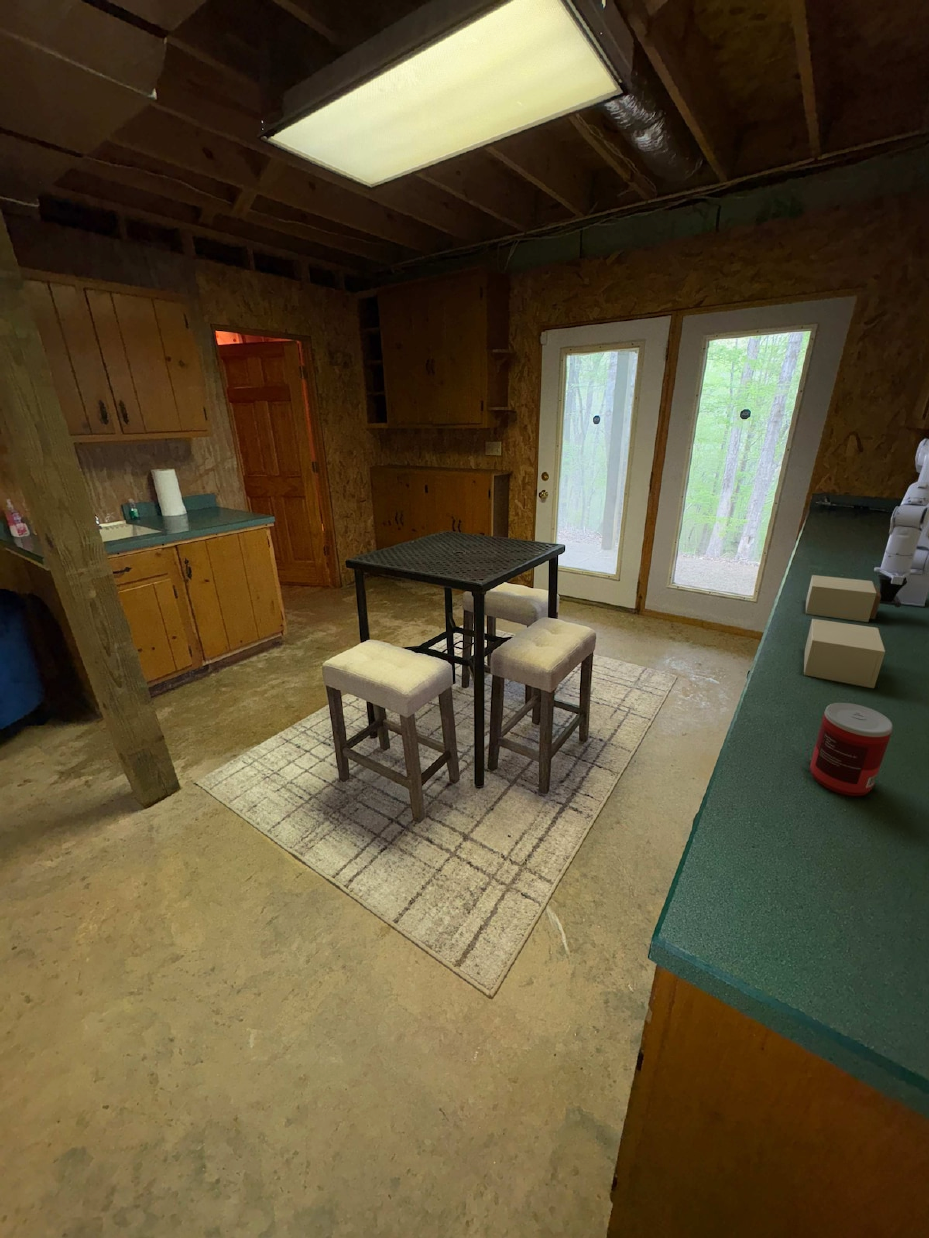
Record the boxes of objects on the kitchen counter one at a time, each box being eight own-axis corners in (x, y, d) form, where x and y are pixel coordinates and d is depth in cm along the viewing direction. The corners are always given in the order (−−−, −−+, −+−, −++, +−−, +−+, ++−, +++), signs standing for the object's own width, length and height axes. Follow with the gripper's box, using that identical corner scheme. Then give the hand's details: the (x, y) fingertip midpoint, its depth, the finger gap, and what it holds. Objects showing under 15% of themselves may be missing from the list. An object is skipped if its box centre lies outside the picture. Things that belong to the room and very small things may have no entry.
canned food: (859, 767, 75) (879, 705, 71) (882, 802, 68) (905, 737, 64) (802, 758, 77) (817, 698, 73) (817, 792, 70) (836, 728, 66)
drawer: (893, 609, 131) (899, 587, 129) (898, 622, 123) (905, 599, 121) (816, 600, 140) (821, 579, 138) (816, 611, 132) (821, 589, 130)
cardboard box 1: (864, 608, 135) (872, 581, 132) (868, 622, 126) (876, 593, 123) (806, 601, 142) (812, 575, 139) (805, 613, 133) (812, 585, 130)
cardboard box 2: (804, 650, 112) (812, 618, 109) (867, 661, 106) (877, 627, 103) (803, 675, 102) (812, 640, 99) (874, 688, 96) (885, 651, 93)
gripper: (876, 545, 130) (863, 593, 135) (882, 557, 119) (868, 609, 124) (910, 548, 126) (896, 597, 131) (920, 560, 115) (904, 613, 120)
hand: (884, 603), depth 127 cm, fingers closed, pressing on drawer
